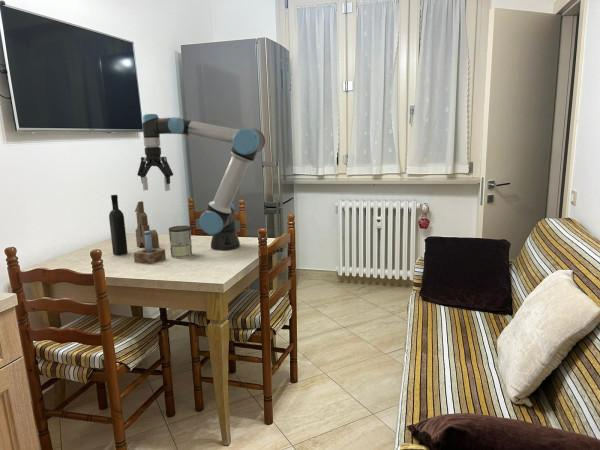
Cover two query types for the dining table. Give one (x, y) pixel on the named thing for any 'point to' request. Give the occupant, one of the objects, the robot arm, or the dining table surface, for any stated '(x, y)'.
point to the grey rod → (148, 241)
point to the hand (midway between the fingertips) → (156, 190)
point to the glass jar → (180, 241)
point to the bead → (149, 256)
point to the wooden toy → (144, 228)
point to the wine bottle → (117, 228)
